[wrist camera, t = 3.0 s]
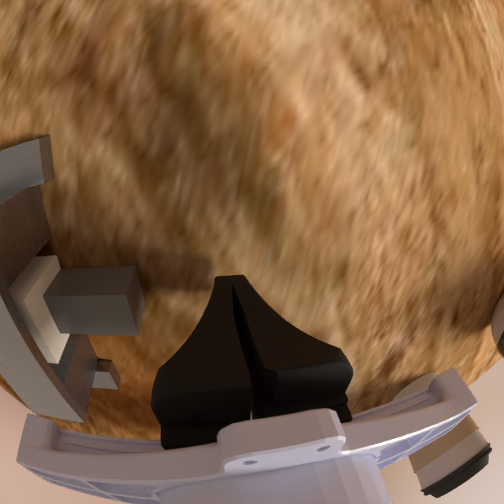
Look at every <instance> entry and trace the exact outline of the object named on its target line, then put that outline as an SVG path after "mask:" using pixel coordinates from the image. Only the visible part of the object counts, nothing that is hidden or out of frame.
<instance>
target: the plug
mask: <svg viewBox="0 0 504 504" xmlns="http://www.w3.org/2000/svg"><path fill="white" fill-rule="evenodd" d="M9 291H10V293H11V296H12V298H13V300H14V302H15V304H16V306H17V308H18V310H19V312H20V314H21V316H22V318H23V320H24V322H25V324H26V326H27V328H28V330H29V332H30V333H31V335H32V337H33V339H34V341H35V342H36V344H37V346H38V347H39V349H40V351H41V352H42V354H43V356H44V357H45V359H46V360H47V362H48V363H56V364H58V363H59V360H60V358H61V355H62V353H63V350H64V347H65V345H66V342H67V340H68V337H69V335H70V334H82V335H139V330H140V325H141V320H142V316H143V311H144V307H145V301H144V297H143V292H142V288H141V284H140V279H139V275H138V270H137V265H125V266H105V267H85V268H63V269H61V268H60V265H59V262H58V258H57V255H54V256H39V257H34V258H33V259H32V260H31V262H30V263H29V264H28V265H27V266H26V268H25V269H24V270H23V271H22V273H21V274H20V275H19V276H18V278H17V279H16V280H15V281H14V283H13V284H12V285H11V287H10V288H9Z"/></svg>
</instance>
